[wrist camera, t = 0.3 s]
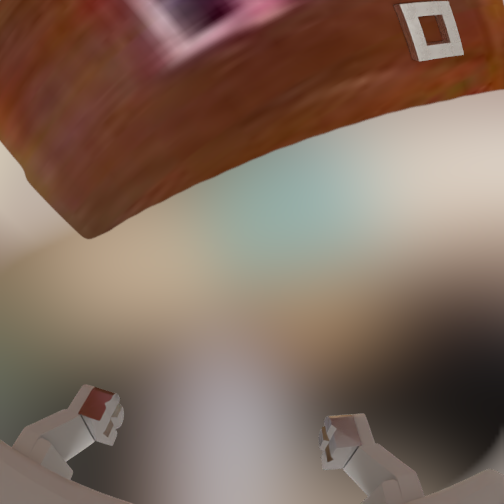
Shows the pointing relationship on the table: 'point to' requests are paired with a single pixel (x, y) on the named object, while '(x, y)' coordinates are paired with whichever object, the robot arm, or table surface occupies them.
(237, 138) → the table surface
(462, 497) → the robot arm
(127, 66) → the table surface
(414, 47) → the aluminium jig
